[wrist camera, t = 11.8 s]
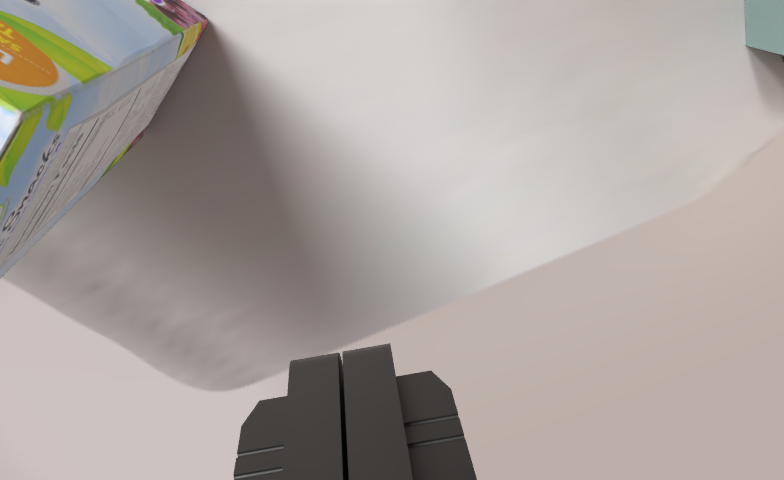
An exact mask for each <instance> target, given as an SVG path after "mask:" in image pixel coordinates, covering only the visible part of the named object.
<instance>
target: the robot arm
mask: <svg viewBox="0 0 784 480" xmlns="http://www.w3.org/2000/svg"><path fill="white" fill-rule="evenodd" d="M237 454H238V458H236V463H235V469H234V480H477V479H476V475H475V471H474V468H473V464H472V461H471V458H470V454H469V450H468V447H467V443H466V440H465V438H464V433H463V429H462V426H461V423H460V419H459V417H458V412H457V409H456V405H455V402H454V398H453V395H452V391H451V389H450V388H449V387H448V386H447V385H446V384H445V383H444V382H443V381H441V380H440V379H439V378H438V377H437V376H436V375H435V374H434V373H433V372H432V371H426V372H420V373H415V374H409V375H403V376H397V377H396V375H395V369H394V363H393V358H392V352H391V346H390V344H385V345H379V346H373V347H367V348H361V349H356V350H351V351H344V352H343V364H342V360H341V357H340V354H339V353H334V354H328V355H322V356H316V357H311V358H305V359H299V360H293V361H291V362H290V368H289V382H288V395H287V396H285V397H279V398H273V399H267V400H262V401H259V402H258V404H257V405H256V407H255V408H254V410H253V411H252V412H251V414H250V415H249V416H248V418H247V419H246V421H245V422H244V423H243V425H242V427H241V433H240V440H239V445H238V452H237Z"/></svg>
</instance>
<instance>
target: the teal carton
mask: <svg viewBox="0 0 784 480" xmlns="http://www.w3.org/2000/svg"><path fill="white" fill-rule="evenodd" d="M745 31H746V46H749V47H753V48H757V49H761V50H765V51H769V52H773V53H776V54H780V55H784V0H745Z"/></svg>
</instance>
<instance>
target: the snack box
mask: <svg viewBox="0 0 784 480" xmlns="http://www.w3.org/2000/svg"><path fill="white" fill-rule="evenodd" d="M207 23H208V19H207V18H206V17H205V16H204V15H202V14H201V13H199V12H198V11H196V10H194V9H193V8H191V7H190V6H188V5H187V4H185V3H184V2H182V1H181V0H0V279H1V278H2V277H3V276H4V275H5V274H6V273H7V272H8V271H9V270H10V269H11V267H12V266H13V265H14V264H15V263H16V262H17V261H18V260H19V259H20V258H21V257H22V256H23V255H24V254H25V253H26V252H27V251H28V250H29V249H30V248H32V247H33V246H34V245H35V244H36V243H37V242H38V241H39V240H40V239H41V238H42V237H43V236H44V235H45V234H46V233H47V232H48V231H49V230H50V229H51V228H52V227H53V226H54V225H55V224H56V223H57V222H58V221H59V220H60V219H61V218H62V217H63V216H64V215H65V214H66V213H67V212H68V211H69V210H70V209H71V208H72V207H73V206H74V205H75V203H76V202H77V201H78V200H79V199H80V198H82V197H83V196H84V195H85V194H86V193H87V192H88V191H89V190H90V189H91V187H92V186H93V185H94V184H95V183H96V182H97V181H98V180H99V179H100V178H101V177H102V176H103V175H104V174H105V173H106V172H107V171H109V170H110V169H111V167H112V166H113V165H114V164H115V163H116V162H117V161H118V160H119V159H120V158H121V157H122V156H123V155H124V154H125V153H126V152H127V151H128V150H130V149H131V148H132V147H133V146H134V145H135V144H136V143H137V142H138V141H139V140H140V139H141V138H142V136H143V133H144V131H145V130H146V128H147V126H148V125H149V123H150V121H151V120H152V118H153V116H154V115H155V113H156V111H157V109H158V108H159V106H160V104H161V103H162V101H163V99H164V98H165V96H166V95H167V93H168V91H169V90H170V88H171V86H172V85H173V83H174V81H175V79H176V78H177V76H178V74H179V72H180V71H181V69H182V67H183V65H184V64H185V62H186V60H187V58H188V57H189V55H190V53H191V51H192V50H193V48H194V46H195V44H196V43H197V41H198V39H199V37H200V36H201V34H202V32H203V30H204V29H205V27H206V25H207Z"/></svg>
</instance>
